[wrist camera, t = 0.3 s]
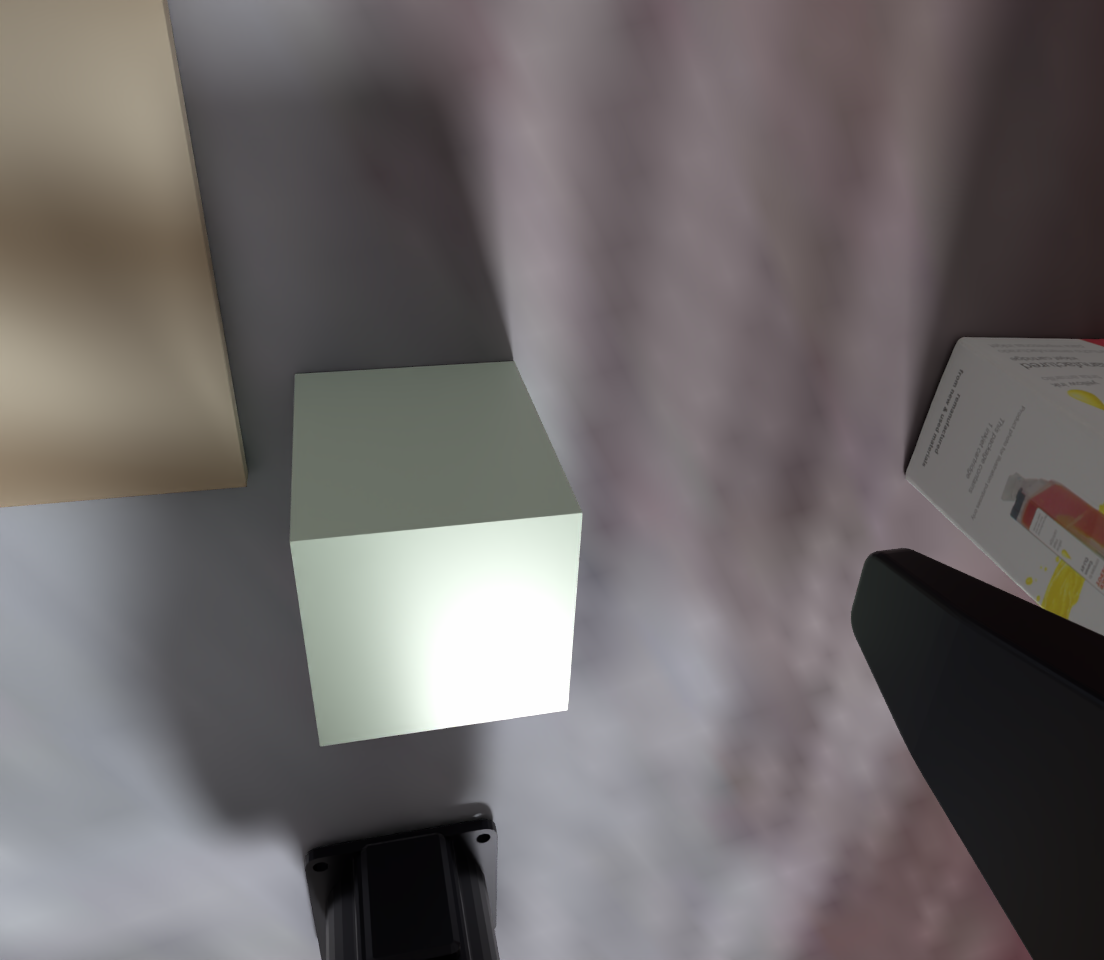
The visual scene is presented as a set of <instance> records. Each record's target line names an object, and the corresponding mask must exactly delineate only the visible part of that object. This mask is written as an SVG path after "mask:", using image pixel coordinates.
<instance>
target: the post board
mask: <svg viewBox="0 0 1104 960" xmlns="http://www.w3.org/2000/svg"><path fill="white" fill-rule="evenodd" d="M247 479H248V470H247V464H246V459H245V453H244V447H243V441H242V435H241V429H240V423H239V418H238V412H237V406H236V400H235V394H234V388H233V383H232V377H231V371H230V365H229V359H228V353H227V347H226V342H225V336H224V330H223V324H222V318H221V312H220V307H219V301H218V295H217V289H216V283H215V277H214V272H213V266H212V260H211V254H210V248H209V242H208V236H207V231H206V225H205V219H204V213H203V207H202V201H201V196H200V190H199V184H198V178H197V172H196V166H195V161H194V155H193V149H192V143H191V137H190V131H189V125H188V120H187V114H186V108H185V102H184V96H183V90H182V85H181V79H180V73H179V67H178V61H177V55H176V50H175V44H174V38H173V32H172V26H171V20H170V14H169V9H168V3H167V0H0V507H12V506H24V505H36V504H47V503H59V502H71V501H83V500H95V499H107V498H119V497H130V496H142V495H154V494H166V493H178V492H190V491H201V490H213V489H225V488H237V487H247Z"/></svg>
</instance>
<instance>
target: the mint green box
mask: <svg viewBox="0 0 1104 960" xmlns="http://www.w3.org/2000/svg"><path fill="white" fill-rule="evenodd" d="M581 526H582V511H581V509H580V506H579V504H578V502H577V500H576V497H575V495H574V493H573V491H572V489H571V486H570V484H569V482H568V480H567V477H566V475H565V473H564V471H563V469H562V466H561V464H560V462H559V460H558V457H557V455H556V453H555V451H554V449H553V446H552V444H551V442H550V440H549V437H548V435H547V433H546V431H545V429H544V426H543V424H542V422H541V420H540V417H539V415H538V413H537V411H536V409H535V406H534V404H533V402H532V400H531V397H530V395H529V393H528V391H527V389H526V386H525V384H524V382H523V380H522V377H521V375H520V373H519V371H518V369H517V366H516V364H515V362H514V361H506V362H489V363H473V364H456V365H439V366H422V367H405V368H388V369H371V370H354V371H337V372H320V373H303V374H295V386H294V418H293V450H292V482H291V515H290V547H291V554H292V561H293V568H294V574H295V581H296V588H297V595H298V601H299V608H300V615H301V622H302V628H303V635H304V642H305V649H306V655H307V662H308V669H309V676H310V682H311V689H312V696H313V703H314V709H315V716H316V723H317V730H318V736H319V743H320V747H321V746H328V745H334V744H341V743H348V742H355V741H362V740H368V739H375V738H382V737H389V736H396V735H402V734H409V733H416V732H423V731H429V730H436V729H443V728H450V727H457V726H463V725H470V724H477V723H484V722H490V721H497V720H504V719H511V718H518V717H524V716H531V715H538V714H545V713H551V712H558V711H565V710H568V698H569V685H570V671H571V658H572V645H573V632H574V619H575V605H576V592H577V579H578V566H579V552H580V539H581Z"/></svg>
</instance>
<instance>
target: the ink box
mask: <svg viewBox="0 0 1104 960" xmlns="http://www.w3.org/2000/svg"><path fill="white" fill-rule="evenodd" d="M905 478H906V480H907V481H908V482H909V483H911V484H912V485H913V486H914V487H915V488H916V489H917V490H918V491H919V492H920V493H922V494H923V495H924V496H925V497H926V498H927V499H928V500H929V501H930V502H931V503H932V504H933V505H934V506H935V507H936V508H937V509H938V510H939V511H940V512H941V513H942V514H943V515H944V516H945V517H946V518H947V519H948V520H949V521H951V522H952V523H953V524H954V525H955V526H956V527H957V528H958V529H959V530H960V531H961V532H962V533H963V534H964V535H966V536H967V537H968V538H969V539H970V540H971V541H972V542H973V543H974V544H975V545H976V546H977V547H978V548H979V549H980V550H981V551H982V552H984V553H985V554H986V555H987V556H988V557H989V558H990V559H991V560H992V561H993V562H994V563H995V564H996V565H997V566H998V567H999V568H1000V569H1001V570H1003V571H1004V572H1005V573H1006V574H1007V575H1008V576H1009V577H1010V578H1011V579H1012V580H1013V581H1014V582H1015V583H1016V584H1017V585H1018V586H1019V587H1020V588H1021V589H1023V590H1024V591H1025V592H1026V593H1027V594H1028V595H1029V596H1030V597H1031V598H1032V599H1033V600H1034V601H1035V602H1036V603H1037V604H1038V605H1039V606H1040V607H1041V608H1043V609H1045V610H1048V611H1050V612H1052V613H1054V614H1056V615H1059V616H1061V617H1063V618H1065V619H1068V620H1070V621H1072V622H1074V623H1076V624H1079V625H1081V626H1083V627H1085V628H1088V629H1090V630H1092V631H1094V632H1097V633H1099V634H1101V635H1103V636H1104V339H1050V338H987V337H962V338H960V339H959V340H958V341H957V343H956V345H955V347H954V349H953V352H952V354H951V357H950V359H949V362H948V364H947V366H946V369H945V371H944V373H943V376H942V378H941V381H940V383H939V386H938V388H937V391H936V394H935V396H934V399H933V401H932V403H931V406H930V409H929V412H928V414H927V417H926V420H925V422H924V425H923V428H922V430H921V433H920V436H919V439H918V442H917V444H916V447H915V450H914V453H913V455H912V458H911V460H910V463H909V466H908V468H907V471H906V476H905Z"/></svg>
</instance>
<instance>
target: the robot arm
mask: <svg viewBox="0 0 1104 960" xmlns="http://www.w3.org/2000/svg"><path fill="white" fill-rule="evenodd" d="M851 624H852V629H853V632H854V635H855V637H856V640H857V642H858V644H859V646H860V648H861V650H862V652H863V655H864V657H865V659H866V661H867V663H868V665H869V667H870V669H871V672H872V674H873V676H874V678H875V680H876V682H877V684H878V687H879V689H880V691H881V693H882V695H883V697H884V699H885V702H886V704H887V706H888V708H889V710H890V712H891V714H892V716H893V719H894V721H895V723H896V725H897V727H898V729H899V731H900V734H901V736H902V738H903V740H904V742H905V744H906V746H907V748H908V749H909V751H910V753H911V755H912V757H913V759H914V761H915V763H916V764H917V766H918V768H919V770H920V771H921V773H922V775H923V777H924V778H925V780H926V782H927V783H928V785H929V787H930V788H931V790H932V792H933V793H934V795H935V797H936V798H937V800H938V802H939V803H940V805H941V807H942V808H943V810H944V812H945V813H946V815H947V817H948V818H949V820H950V822H951V824H952V825H953V827H954V829H955V830H956V832H957V834H958V835H959V837H960V839H961V840H962V842H963V844H964V845H965V847H966V849H967V850H968V852H969V854H970V855H971V857H972V859H973V860H974V862H975V864H976V865H977V867H978V869H979V870H980V872H981V874H982V875H983V877H984V879H985V880H986V882H987V884H988V885H989V887H990V889H991V890H992V892H993V894H994V895H995V897H996V899H997V900H998V902H999V904H1000V905H1001V907H1002V909H1003V910H1004V912H1005V914H1006V915H1007V917H1008V919H1009V920H1010V922H1011V924H1012V925H1013V927H1014V929H1015V930H1016V932H1017V934H1018V935H1019V937H1020V939H1021V940H1022V942H1023V944H1024V945H1025V947H1026V949H1027V950H1028V952H1029V954H1030V955H1031V957H1032V959H1033V960H1104V636H1103V635H1101V634H1099V633H1097V632H1094V631H1092V630H1090V629H1088V628H1085V627H1083V626H1081V625H1079V624H1076V623H1074V622H1072V621H1070V620H1068V619H1065V618H1063V617H1061V616H1059V615H1056V614H1054V613H1052V612H1050V611H1048V610H1045V609H1043V608H1041V607H1039V606H1036V605H1034V604H1032V603H1030V602H1027V601H1025V600H1023V599H1021V598H1019V597H1016V596H1014V595H1012V594H1010V593H1007V592H1005V591H1003V590H1001V589H999V588H996V587H994V586H992V585H990V584H987V583H985V582H983V581H981V580H978V579H976V578H974V577H972V576H970V575H967V574H965V573H963V572H961V571H958V570H956V569H954V568H952V567H950V566H947V565H945V564H943V563H941V562H938V561H936V560H934V559H932V558H929V557H927V556H925V555H923V554H921V553H918V552H916V551H914V550H911V549H907V548H899V549H891V550H883V551H876V552H874V553H872V554H870V555H869V556H868V558H867V559H866V560H865V563H864V566H863V570H862V573H861V577H860V581H859V584H858V588H857V592H856V595H855V599H854V603H853V606H852V611H851ZM305 871H306V876H307V882H308V887H309V893H310V898H311V904H312V909H313V915H314V920H315V926H316V931H317V937H318V942H319V948H320V953H321V959H322V960H500V958H499V952H498V947H497V941H496V936H495V930H494V929H495V927H496V900H497V831H496V826H495V823H494V822H493V821H491V820H488V819H483V820H476V821H470V822H464V823H458V824H453V825H447V826H441V827H435V828H429V829H423V830H418V831H412V832H406V833H400V834H394V835H388V836H383V837H377V838H371V839H365V840H359V841H353V842H348V843H342V844H336V845H330V846H324V847H319V848H315V849H313V850H311V851H309V852H308V853H307V855H306V858H305Z"/></svg>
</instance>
